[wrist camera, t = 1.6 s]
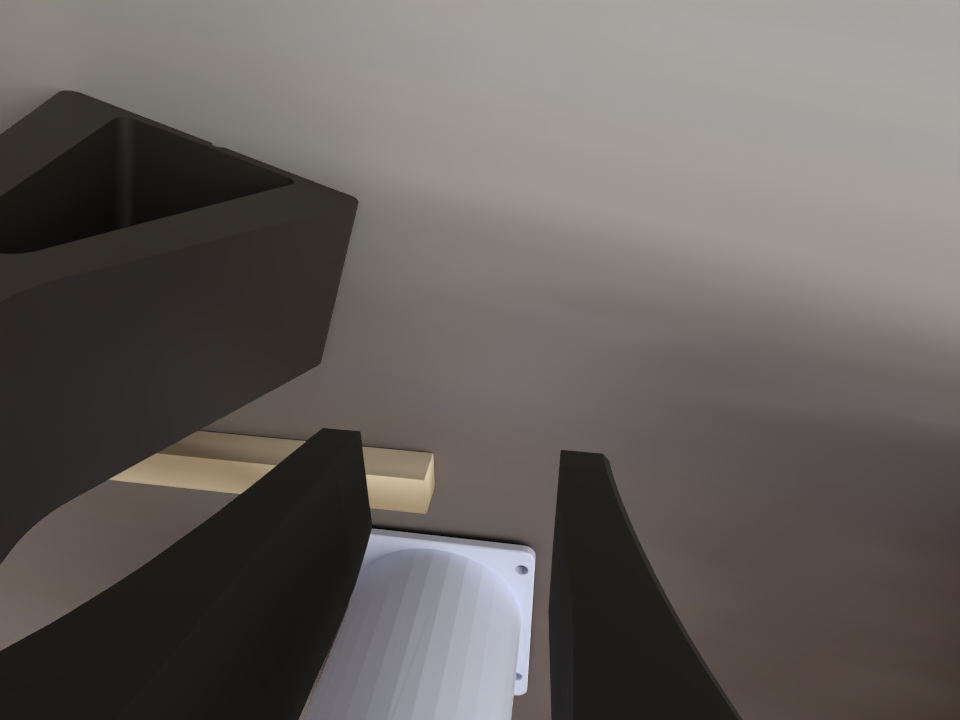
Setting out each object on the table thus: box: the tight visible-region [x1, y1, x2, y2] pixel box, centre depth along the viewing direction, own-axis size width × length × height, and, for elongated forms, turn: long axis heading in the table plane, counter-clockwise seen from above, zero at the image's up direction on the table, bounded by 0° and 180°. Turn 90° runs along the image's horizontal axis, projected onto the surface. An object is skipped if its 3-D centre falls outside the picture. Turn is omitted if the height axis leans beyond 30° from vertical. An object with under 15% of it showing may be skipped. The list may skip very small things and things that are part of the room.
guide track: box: [109, 431, 435, 514], centre depth 19 cm, size 19×22×4 cm
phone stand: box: [0, 91, 358, 564], centre depth 15 cm, size 9×6×12 cm, turn 71°
